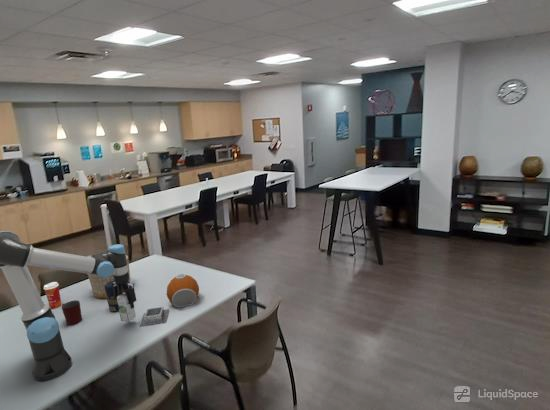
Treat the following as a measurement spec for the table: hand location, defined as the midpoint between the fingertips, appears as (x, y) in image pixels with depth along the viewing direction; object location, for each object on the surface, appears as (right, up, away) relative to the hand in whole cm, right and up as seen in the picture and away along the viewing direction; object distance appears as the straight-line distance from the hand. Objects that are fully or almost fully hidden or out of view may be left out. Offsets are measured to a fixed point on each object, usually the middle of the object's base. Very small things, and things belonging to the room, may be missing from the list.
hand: (127, 312), depth 190 cm
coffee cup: (-58, -5, +30) cm, 65 cm away
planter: (-29, 0, +45) cm, 53 cm away
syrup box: (0, -4, +1) cm, 4 cm away
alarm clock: (+26, 0, +22) cm, 34 cm away
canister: (-14, -4, +20) cm, 25 cm away
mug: (-36, -8, +10) cm, 38 cm away
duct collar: (+13, -5, +6) cm, 15 cm away
